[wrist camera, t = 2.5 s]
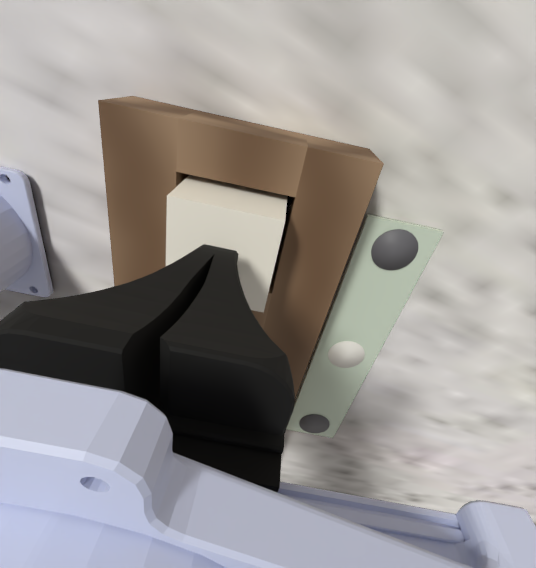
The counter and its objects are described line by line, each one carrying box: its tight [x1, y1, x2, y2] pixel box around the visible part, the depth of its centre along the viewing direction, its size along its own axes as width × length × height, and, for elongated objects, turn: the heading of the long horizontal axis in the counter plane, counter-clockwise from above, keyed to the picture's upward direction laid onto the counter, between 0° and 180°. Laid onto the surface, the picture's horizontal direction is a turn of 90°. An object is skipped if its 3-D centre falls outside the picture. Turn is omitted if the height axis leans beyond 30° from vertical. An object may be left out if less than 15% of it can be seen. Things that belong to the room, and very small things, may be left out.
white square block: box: [166, 175, 287, 313], centre depth 14 cm, size 4×4×3 cm
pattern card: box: [286, 214, 444, 438], centre depth 22 cm, size 4×19×1 cm, turn 169°
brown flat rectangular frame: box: [98, 96, 383, 398], centre depth 20 cm, size 11×25×3 cm, turn 169°
